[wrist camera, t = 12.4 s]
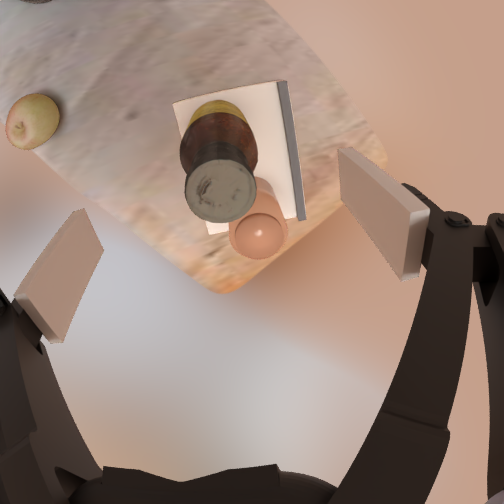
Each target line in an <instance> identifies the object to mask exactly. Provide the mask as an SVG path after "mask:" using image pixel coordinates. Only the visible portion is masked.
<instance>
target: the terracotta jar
mask: <svg viewBox="0 0 504 504" xmlns="http://www.w3.org/2000/svg"><path fill="white" fill-rule="evenodd" d="M254 177H255V181H256V187H257V190H256V198H255V201H254V203H253V205H252V207H251V208H250V210H249V211H248V212H247V213H246V214H245V215H244V216H242V217H241V218H239V219H237V220H235V221H232V222H228V223H229V239H230V242H231V245H232V246H233V248H234V249H235V250H236V251H237V252H238V253H239V254H241V255H243V256H245V257H248V258H251V259H265V258H268V257H270V256H272V255H274V254H275V253H276V252H278V251H279V250H280V249H281V248H282V246H283V245H284V244H285V242H286V239H287V236H288V227H287V224H286V221H285V218H284V216H283V213H282V211H281V208H280V205H279V203H278V200H277V198H276V195H275V193H274V190H273V188H272V186H271V185H270V184H269V183H268V182H267V181H266V180H264V179H263V178H260V177H256V176H254Z"/></svg>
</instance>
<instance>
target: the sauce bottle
mask: <svg viewBox="0 0 504 504" xmlns="http://www.w3.org/2000/svg"><path fill="white" fill-rule="evenodd" d="M180 160H181V164H182V167H183V169H184V171H185V172H186V174H187V176H186V181H185V197H186V201H187V203H188V205H189V207H190V209H191V211H193V213H194V214H195V215H197V216H198V217H199V218H201V219H203V220H206V221H209V222H211V223H228V222H232V221H235V220H237V219H239V218H241V217H242V216H244V215H245V214H246V213H247V212H248V211H249V210H250V208H251V207H252V205H253V203H254V201H255V198H256V190H257V187H256V181H255V177H254V174H253V172H254V170H255V167H256V165H257V162H258V149H257V144H256V140H255V137H254V134H253V132H252V130H251V128H250V126H249V124H248V122H247V120H246V118H245V117H244V115H243V113H242V112H241V110H240V109H239V108H238V107H237V106H235V105H234V104H232V103H230V102H228V101H224V100H215V101H210V102H207V103H205V104H203V105H201V106H200V107H199V108H198V109H197V110H196V111H195V112H194V114H193V115H192V117H191V119H190V122H189V124H188V126H187V128H186V131H185V133H184V135H183V138H182V141H181V145H180Z"/></svg>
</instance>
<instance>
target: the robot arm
mask: <svg viewBox="0 0 504 504" xmlns="http://www.w3.org/2000/svg"><path fill="white" fill-rule="evenodd" d="M21 1H24V2H29V3H44V2H48V1H51V0H21ZM338 160H339V174H340V192H341V200H342V201H343V203H344V204H345V205H346V207H347V208H348V209H349V210H350V211H351V213H352V214H353V215H354V217H355V218H356V219H357V221H358V222H359V223H360V225H361V226H362V227H363V229H364V230H365V231H366V233H367V234H368V235H369V237H370V238H371V240H372V241H373V242H374V244H375V245H376V246H377V247H378V249H379V251H380V252H381V253H382V255H383V256H384V258H385V259H386V260H387V262H388V263H389V265H390V266H391V267H392V269H393V271H394V272H395V274H396V275H397V277H398V278H399V280H400V281H401V282H402V281H405V280H409V279H413V278H416V277H419V273H420V268H421V263H422V264H423V266H424V267H425V268H426V270H427V272H426V276H425V281H424V285H423V289H422V292H421V296H420V300H419V304H418V307H417V311H416V314H415V317H414V321H413V324H412V327H411V330H410V333H409V336H408V340H407V343H406V346H405V348H404V351H403V354H402V357H401V360H400V362H399V365H398V368H397V370H396V373H395V375H394V378H393V381H392V383H391V385H390V388H389V390H388V393H387V395H386V397H385V399H384V402H383V404H382V406H381V408H380V410H379V413H378V415H377V417H376V419H375V421H374V423H373V425H372V427H371V429H370V431H369V433H368V435H367V437H366V439H365V441H364V443H363V445H362V447H361V449H360V451H359V453H358V454H357V456H356V458H355V460H354V461H353V463H352V465H351V467H350V468H349V470H348V472H347V474H346V475H345V477H344V479H343V480H342V482H341V484H340V485H339V487H338V488H337V487H335V486H333V485H331V484H329V483H328V482H325V481H323V480H321V479H318V478H316V477H312V476H309V475H305V474H300V473H294V472H283V471H280V469H279V467H278V466H277V464H273V465H266V466H258V467H249V468H239V469H228V470H225V471H221V472H219V473H215V474H211V475H208V476H205V477H200V478H197V479H193V480H189V481H185V482H177V481H173V480H170V479H166V478H163V477H160V476H156V475H153V474H150V473H147V472H144V471H141V470H136V469H124V468H115V467H107V466H103V471H102V470H101V469H100V468H99V466H98V465H97V463H96V462H95V460H94V458H93V456H92V455H91V453H90V451H89V449H88V447H87V445H86V444H85V442H84V440H83V438H82V436H81V434H80V432H79V430H78V428H77V426H76V424H75V422H74V420H73V417H72V415H71V413H70V411H69V409H68V407H67V404H66V402H65V399H64V397H63V395H62V392H61V390H60V387H59V385H58V382H57V380H56V377H55V374H54V372H53V369H52V366H51V363H50V361H49V357H48V354H47V351H46V349H45V346H44V345H43V343H42V342H41V341H40V339H41V337H42V334H43V335H44V336H45V338H46V339H47V340H48V341H49V342H50V343H51V344H53V343H63V341H64V338H65V336H66V333H67V331H68V328H69V326H70V323H71V321H72V319H73V316H74V314H75V311H76V309H77V307H78V304H79V302H80V300H81V297H82V295H83V293H84V291H85V289H86V287H87V285H88V282H89V280H90V278H91V276H92V274H93V272H94V270H95V268H96V266H97V264H98V262H99V260H100V258H101V256H102V254H103V252H104V249H103V247H102V245H101V243H100V241H99V239H98V237H97V235H96V233H95V231H94V229H93V226H92V225H91V222H90V220H89V218H88V216H87V213H86V211H85V209H84V208H83V209H80V210H77V211H74V212H73V213H72V214H71V215H70V217H69V218H68V219H67V220H66V221H65V223H64V224H63V225H62V227H61V228H60V229H59V230H58V232H57V233H56V234H55V236H54V237H53V238H52V239H51V241H50V242H49V244H48V245H47V246H46V248H45V249H44V251H43V252H42V253H41V255H40V256H39V257H38V259H37V260H36V262H35V263H34V264H33V266H32V268H31V269H30V270H29V272H28V273H27V275H26V276H25V278H24V279H23V281H22V283H21V284H20V286H19V287H18V289H17V291H16V292H15V294H14V297H15V298H14V300H13V301H12V303H10V301H9V300H8V299H7V297H6V296H5V294H4V293H3V292H2V290H1V289H0V504H425V502H426V500H427V497H428V495H429V493H430V491H431V489H432V486H433V484H434V482H435V479H436V477H437V475H438V472H439V470H440V467H441V465H442V462H443V459H444V457H445V454H446V451H447V447H448V444H449V440H450V431H449V430H448V428H447V424H448V420H449V416H450V413H451V409H452V406H453V402H454V398H455V394H456V390H457V386H458V381H459V377H460V372H461V367H462V362H463V357H464V351H465V345H466V339H467V332H468V324H469V315H470V306H471V293H472V282H473V286H474V290H475V294H476V299H477V304H478V309H479V314H480V319H481V325H482V331H483V337H484V344H485V352H486V361H487V369H488V383H489V404H490V437H489V455H488V472H487V495H488V501H487V502H486V503H485V504H504V214H500V213H493V214H490V215H489V217H488V220H487V225H486V226H484V225H472V222H471V221H470V220H469V218H467V217H466V216H464V215H463V214H460V213H457V212H452V211H446V212H444V211H443V210H441V209H440V208H439V207H438V206H437V205H436V204H434V203H433V202H432V201H431V200H429V199H428V198H427V197H426V196H425V195H422V193H421V192H420V191H419V190H417V189H416V188H415V187H413V186H410V185H408V184H405V183H402V184H400V183H399V182H398V181H397V180H395V179H394V178H393V177H391V176H390V175H389V174H387V173H386V172H385V171H384V170H383V169H381V168H380V167H379V166H377V165H376V164H375V163H373V162H372V161H371V160H369V159H368V158H367V157H365V156H364V155H362V154H361V153H360V152H358V151H357V150H355V149H354V148H353V147H349V148H341V149H338Z"/></svg>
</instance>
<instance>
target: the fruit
mask: <svg viewBox="0 0 504 504" xmlns="http://www.w3.org/2000/svg"><path fill="white" fill-rule="evenodd" d="M58 123H59V110H58V108H57V106H56V104H55V103H54V102H53V101H52V100H51V99H50V98H49V97H47V96H45V95H42V94H29V95H26V96H24V97H22V98H20V99H19V100H18V101H17V102H16V103H15V104H14V105H13V106H12V108H11V110H10V112H9V114H8V117H7V121H6V135H7V138H8V140H9V141H10V142H11V144H13V145H14V146H15V147H17V148H20V149H24V150H30V149H34V148H36V147H38V146H40V145H42V144H43V143H45V142H46V141H47V140H48V139H49V138H50V137H51V136H52V135H53V133H54V132H55V130H56V129H57V126H58Z"/></svg>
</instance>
